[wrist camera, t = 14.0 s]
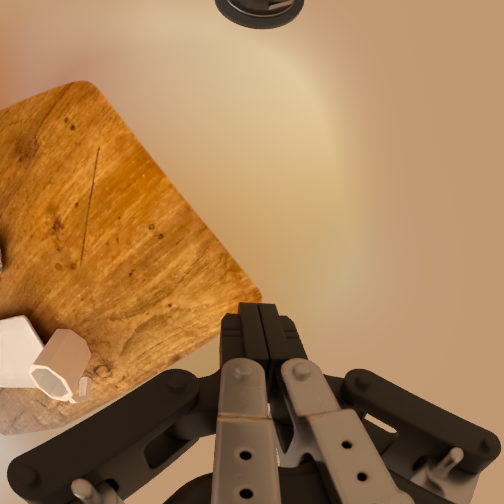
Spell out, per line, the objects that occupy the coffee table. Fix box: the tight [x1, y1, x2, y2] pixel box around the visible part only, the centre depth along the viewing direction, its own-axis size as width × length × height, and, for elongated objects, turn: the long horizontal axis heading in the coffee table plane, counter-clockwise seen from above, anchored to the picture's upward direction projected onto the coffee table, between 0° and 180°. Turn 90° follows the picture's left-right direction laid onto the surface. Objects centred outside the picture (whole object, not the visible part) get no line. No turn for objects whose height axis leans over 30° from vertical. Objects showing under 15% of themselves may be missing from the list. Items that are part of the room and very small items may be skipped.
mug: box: [28, 329, 92, 403], centre depth 37 cm, size 12×9×10 cm
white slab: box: [0, 315, 45, 388], centre depth 39 cm, size 17×31×4 cm, turn 104°
